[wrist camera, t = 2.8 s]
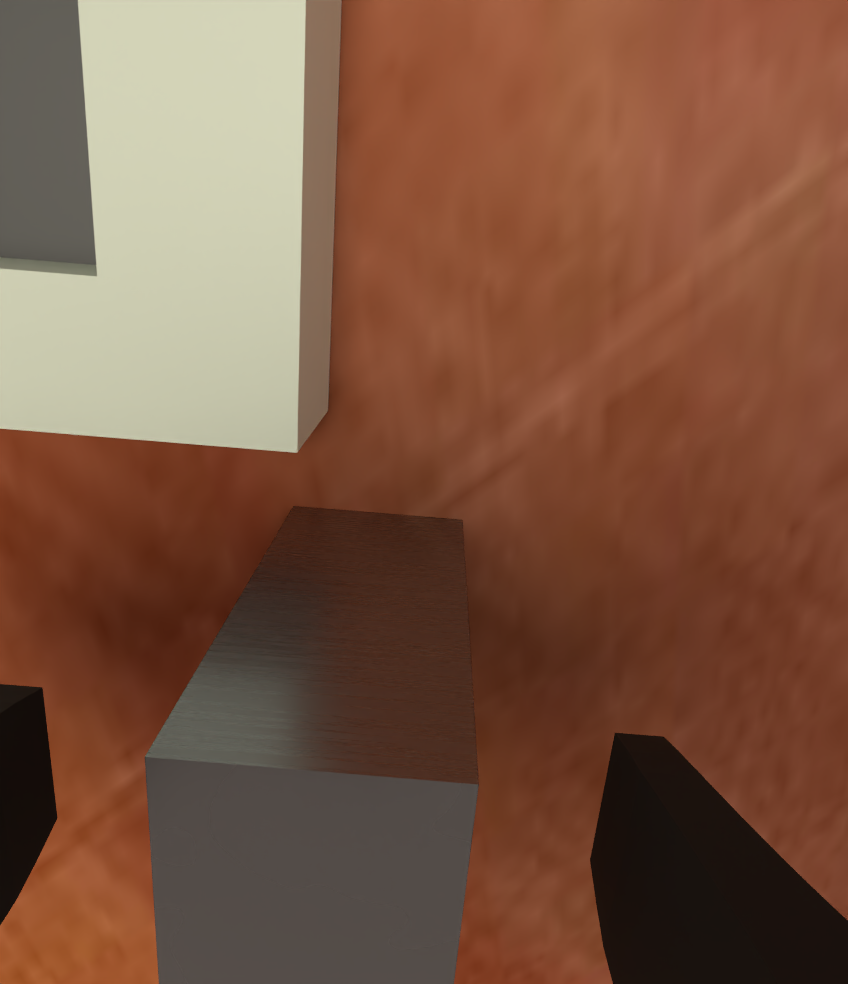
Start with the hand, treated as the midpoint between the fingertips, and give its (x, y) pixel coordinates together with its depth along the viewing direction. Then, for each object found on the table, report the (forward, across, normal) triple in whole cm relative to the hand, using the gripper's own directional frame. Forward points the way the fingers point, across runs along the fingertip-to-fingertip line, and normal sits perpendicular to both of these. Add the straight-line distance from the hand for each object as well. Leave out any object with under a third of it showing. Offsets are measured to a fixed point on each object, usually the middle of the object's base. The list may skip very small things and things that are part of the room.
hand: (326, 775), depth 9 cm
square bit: (+5, 0, 0) cm, 5 cm away
